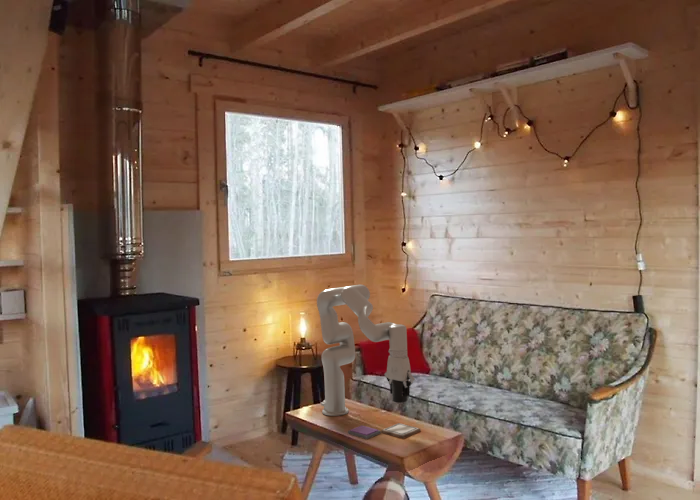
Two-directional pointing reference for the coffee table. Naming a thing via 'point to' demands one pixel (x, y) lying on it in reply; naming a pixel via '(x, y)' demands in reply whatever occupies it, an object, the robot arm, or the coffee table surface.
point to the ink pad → (364, 432)
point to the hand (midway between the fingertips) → (399, 394)
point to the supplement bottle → (398, 392)
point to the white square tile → (400, 430)
